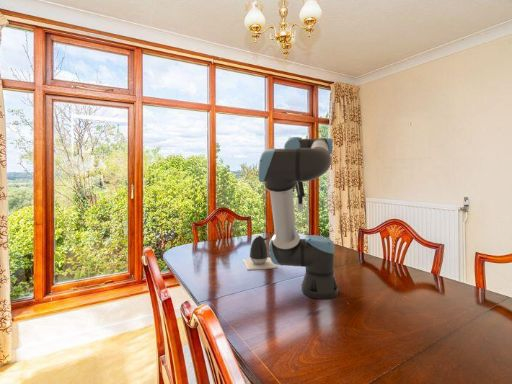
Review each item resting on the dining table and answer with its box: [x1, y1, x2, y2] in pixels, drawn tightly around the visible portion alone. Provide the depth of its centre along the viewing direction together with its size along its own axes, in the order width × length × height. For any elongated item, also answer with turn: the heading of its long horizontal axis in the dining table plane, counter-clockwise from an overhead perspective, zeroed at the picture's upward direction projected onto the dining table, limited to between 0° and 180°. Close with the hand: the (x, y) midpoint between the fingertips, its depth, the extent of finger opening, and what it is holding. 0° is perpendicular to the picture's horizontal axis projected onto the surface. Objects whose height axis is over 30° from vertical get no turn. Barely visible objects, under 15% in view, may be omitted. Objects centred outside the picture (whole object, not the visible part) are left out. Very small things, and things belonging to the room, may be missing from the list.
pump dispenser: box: [249, 235, 269, 264], centre depth 155 cm, size 10×10×15 cm
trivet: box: [242, 256, 278, 271], centre depth 156 cm, size 16×16×1 cm
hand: (295, 208), depth 147 cm, fingers open, 13 cm apart
